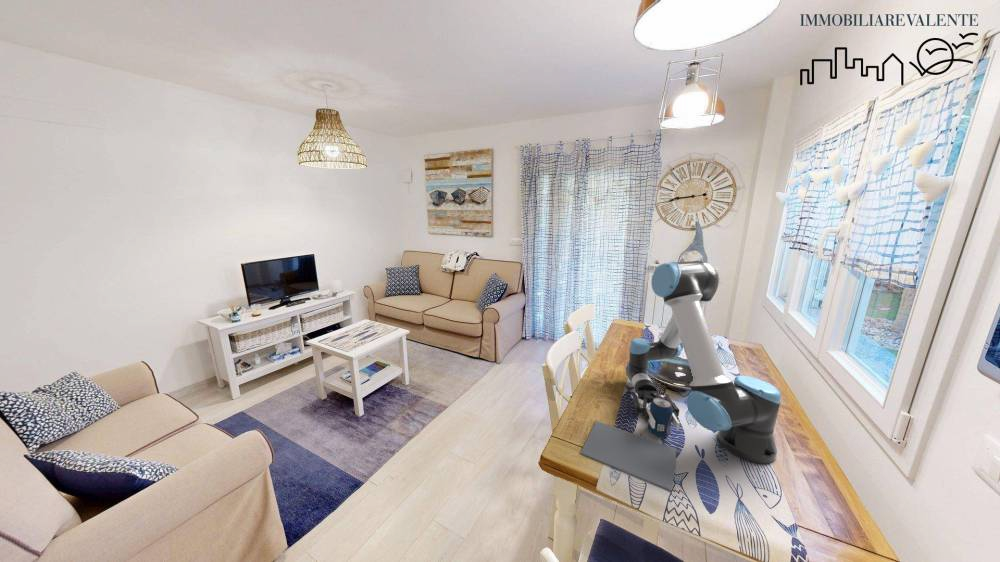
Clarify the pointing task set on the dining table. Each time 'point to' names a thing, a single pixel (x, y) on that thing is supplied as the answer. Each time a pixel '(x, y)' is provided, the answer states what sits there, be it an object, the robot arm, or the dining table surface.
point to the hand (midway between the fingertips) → (665, 425)
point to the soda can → (661, 417)
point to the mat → (632, 454)
